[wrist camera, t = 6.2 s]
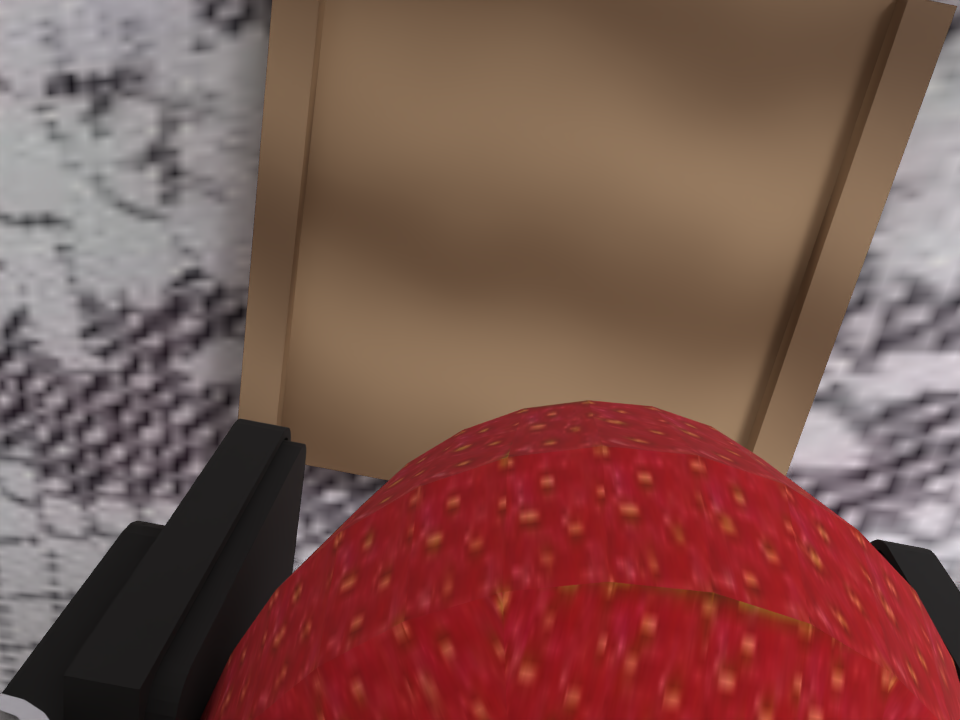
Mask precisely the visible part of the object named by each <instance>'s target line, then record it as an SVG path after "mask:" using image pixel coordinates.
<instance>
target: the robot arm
mask: <svg viewBox="0 0 960 720" xmlns="http://www.w3.org/2000/svg"><path fill="white" fill-rule="evenodd" d="M305 461H306V444H303V443H297V442H292V441H291V431H290V428H288V427H283V426H278V425H273V424H267V423H262V422H257V421H251V420H246V419H238V420H237V421H236V422H235V424H234V425H233V426H232V428H231V429H230V431H229V432H228V434H227V435H226V437H225V438H224V440H223V441H222V443H221V444H220V446H219V447H218V449H217V450H216V451H215V453H214V454H213V456H212V457H211V459H210V460H209V462H208V463H207V465H206V466H205V468H204V469H203V471H202V472H201V474H200V475H199V476H198V478H197V479H196V481H195V482H194V484H193V485H192V487H191V488H190V490H189V491H188V493H187V494H186V496H185V497H184V499H183V500H182V501H181V503H180V504H179V506H178V507H177V509H176V510H175V512H174V513H173V515H172V516H171V518H170V519H169V521H168V522H167V524H166V525H165V526H163V525H158V524H153V523H148V522H142V521H135V522H132V523H130V524H129V525H128V526H127V528H126V529H125V530H124V531H123V532H122V533H121V534H120V536H119V537H118V538H117V540H116V541H115V542H114V544H113V545H112V546H111V548H110V549H109V551H108V552H107V553H106V555H105V556H104V557H103V559H102V560H101V561H100V563H99V564H98V565H97V567H96V568H95V569H94V571H93V572H92V573H91V575H90V576H89V577H88V579H87V580H86V581H85V583H84V584H83V585H82V587H81V588H80V589H79V591H78V592H77V593H76V595H75V596H74V597H73V599H72V600H71V601H70V603H69V604H68V605H67V607H66V608H65V609H64V611H63V612H62V613H61V615H60V616H59V617H58V619H57V620H56V621H55V623H54V624H53V625H52V627H51V628H50V629H49V631H48V632H47V633H46V635H45V636H44V637H43V639H42V640H41V641H40V643H39V644H38V645H37V647H36V648H35V649H34V651H33V652H32V653H31V655H30V656H29V657H28V659H27V660H26V661H25V663H24V664H23V666H22V667H21V668H20V670H19V671H18V672H17V674H16V675H15V676H14V678H13V679H12V680H11V682H10V683H9V684H8V686H7V687H6V688H5V690H4V691H3V692H2V693H0V720H200V718H201V716H202V714H203V711H204V709H205V707H206V705H207V703H208V701H209V699H210V697H211V695H212V693H213V691H214V689H215V687H216V684H217V682H218V680H219V678H220V676H221V674H222V672H223V670H224V668H225V666H226V664H227V662H228V659H229V657H230V655H231V653H232V652H233V650H234V649H235V647H236V646H237V645H238V643H239V642H240V640H241V639H242V637H243V636H244V635H245V633H246V632H247V630H248V629H249V627H250V626H251V625H252V623H253V622H254V620H255V619H256V618H257V616H258V615H259V613H260V612H261V610H262V609H263V608H264V606H265V605H266V603H267V602H268V600H269V599H270V598H271V596H272V595H273V593H274V592H275V590H276V589H277V588H278V587H279V586H280V585H281V584H282V583H283V582H284V581H285V580H286V579H287V578H288V577H289V576H290V575H291V574H292V571H293V563H294V554H295V546H296V537H297V529H298V520H299V512H300V504H301V495H302V487H303V478H304V470H305ZM871 544H872V545H873V546H874V547H875V549H876V550H877V551H878V552H879V553H880V554H881V555H882V556H883V557H884V558H885V559H886V560H887V561H888V562H889V563H890V564H891V565H892V566H893V568H894V569H895V570H896V571H897V572H898V573H899V574H900V575H901V576H902V577H903V578H904V579H905V580H906V581H907V582H908V583H909V584H910V586H911V587H912V588H913V589H914V590H915V591H916V592H917V594H918V596H919V598H920V600H921V602H922V603H923V605H924V607H925V609H926V611H927V613H928V615H929V616H930V618H931V620H932V622H933V624H934V626H935V627H936V629H937V631H938V633H939V635H940V637H941V639H942V640H943V642H944V644H945V646H946V648H947V650H948V651H949V653H950V655H951V657H952V659H953V661H954V665H955V668H956V672H957V675H958V679H959V682H960V591H959V590H958V588H957V587H956V585H955V584H954V582H953V581H952V579H951V578H950V576H949V575H948V573H947V572H946V570H945V569H944V567H943V566H942V564H941V563H940V561H939V560H938V558H937V557H936V555H935V554H934V553H933V552H932V551H931V550H928V549H925V548H920V547H914V546H909V545H904V544H899V543H893V542H888V541H883V540H878V539H877V540H875V541H872V542H871Z"/></svg>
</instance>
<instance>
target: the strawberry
mask: <svg viewBox="0 0 960 720" xmlns="http://www.w3.org/2000/svg"><path fill="white" fill-rule="evenodd" d="M200 720H960V682H959V679H958V675H957V672H956V668H955V665H954V661H953V659H952V657H951V655H950V653H949V651H948V650H947V648H946V646H945V644H944V642H943V640H942V639H941V637H940V635H939V633H938V631H937V629H936V627H935V626H934V624H933V622H932V620H931V618H930V616H929V615H928V613H927V611H926V609H925V607H924V605H923V603H922V602H921V600H920V598H919V596H918V594H917V592H916V591H915V590H914V589H913V588H912V587H911V586H910V584H909V583H908V582H907V581H906V580H905V579H904V578H903V577H902V576H901V575H900V574H899V573H898V572H897V571H896V570H895V569H894V568H893V566H892V565H891V564H890V563H889V562H888V561H887V560H886V559H885V558H884V557H883V556H882V555H881V554H880V553H879V552H878V551H877V550H876V549H875V547H874V546H873V545H872V544H871V543H870V542H869V541H868V540H867V539H866V538H865V537H864V536H863V535H862V534H861V533H860V532H859V531H858V530H857V529H856V528H854V527H853V526H852V525H850V524H849V523H848V522H846V521H845V520H844V519H842V518H841V517H840V516H838V515H837V514H836V513H834V512H833V511H832V510H830V509H829V508H827V507H826V506H825V505H823V504H822V503H821V502H819V501H818V500H817V499H815V498H814V497H813V496H811V495H810V494H809V493H807V492H806V491H805V490H803V489H802V488H801V487H799V486H798V485H797V484H795V483H794V482H793V481H791V480H790V479H789V478H787V477H786V476H785V475H783V474H782V473H781V472H779V471H778V470H777V469H775V468H774V467H773V466H771V465H770V464H769V463H767V462H766V461H765V460H763V459H762V458H760V457H759V456H757V455H756V454H754V453H752V452H751V451H749V450H748V449H746V448H745V447H743V446H741V445H740V444H738V443H737V442H735V441H734V440H732V439H730V438H729V437H727V436H726V435H724V434H723V433H721V432H719V431H718V430H716V429H715V428H713V427H712V426H709V425H706V424H703V423H700V422H697V421H694V420H691V419H688V418H685V417H682V416H679V415H676V414H673V413H671V412H668V411H665V410H662V409H659V408H656V407H653V406H644V405H634V404H623V403H613V402H602V401H592V400H586V401H578V402H570V403H562V404H554V405H546V406H539V407H531V408H523V409H521V410H518V411H515V412H512V413H509V414H506V415H504V416H501V417H498V418H495V419H492V420H489V421H487V422H484V423H481V424H478V425H475V426H472V427H470V428H467V429H464V430H462V431H460V432H458V433H457V434H455V435H453V436H452V437H450V438H448V439H447V440H445V441H443V442H442V443H440V444H439V445H437V446H435V447H434V448H432V449H430V450H429V451H427V452H425V453H424V454H422V455H420V456H419V457H417V458H415V459H414V460H412V461H410V462H409V463H407V464H406V465H405V466H404V467H403V468H402V469H401V470H400V471H399V472H398V473H397V474H395V475H394V476H393V477H392V478H391V479H390V480H389V481H388V482H387V483H386V484H385V485H383V486H382V487H381V488H380V489H379V490H378V491H377V492H376V493H375V494H374V495H373V496H371V497H370V498H369V499H368V500H367V501H366V502H365V503H364V504H363V505H362V506H361V507H360V508H359V509H358V510H357V511H356V512H355V513H354V514H353V515H352V516H351V517H350V518H349V519H347V520H346V521H345V522H344V523H343V524H342V525H341V526H340V527H339V528H338V529H337V530H336V531H335V532H334V533H333V534H332V535H331V536H330V537H329V538H328V539H327V540H326V541H325V542H324V543H323V544H322V545H321V546H320V547H319V548H318V549H317V550H316V551H315V552H314V553H313V554H312V555H311V556H310V557H309V558H308V559H307V560H306V561H305V562H304V563H303V564H302V565H301V566H300V567H299V568H298V569H297V570H296V571H295V572H294V573H293V574H291V575H290V576H289V577H288V578H287V579H286V580H285V581H284V582H283V583H282V584H281V585H280V586H279V587H278V588H277V589H276V590H275V592H274V593H273V595H272V596H271V598H270V599H269V600H268V602H267V603H266V605H265V606H264V608H263V609H262V610H261V612H260V613H259V615H258V616H257V618H256V619H255V620H254V622H253V623H252V625H251V626H250V627H249V629H248V630H247V632H246V633H245V635H244V636H243V637H242V639H241V640H240V642H239V643H238V645H237V646H236V647H235V649H234V650H233V652H232V653H231V655H230V657H229V659H228V662H227V664H226V666H225V668H224V670H223V672H222V674H221V676H220V678H219V680H218V682H217V684H216V687H215V689H214V691H213V693H212V695H211V697H210V699H209V701H208V703H207V705H206V707H205V709H204V711H203V714H202V716H201V718H200Z"/></svg>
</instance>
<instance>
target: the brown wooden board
mask: <svg viewBox="0 0 960 720" xmlns="http://www.w3.org/2000/svg"><path fill="white" fill-rule="evenodd" d="M956 8H957V6H954V5H949V4H944V3H939V2H934V1H929V0H272V10H271V22H270V35H269V47H268V59H267V71H266V83H265V95H264V108H263V120H262V132H261V144H260V156H259V169H258V181H257V193H256V205H255V217H254V229H253V242H252V254H251V266H250V278H249V290H248V302H247V315H246V327H245V339H244V351H243V363H242V376H241V388H240V400H239V412H238V419H246V420H251V421H257V422H262V423H267V424H273V425H278V426H283V427H288V428H290V431H291V441H292V442H297V443H303V444H306V461H305V465H310V466H315V467H320V468H326V469H331V470H336V471H342V472H347V473H352V474H357V475H363V476H368V477H373V478H378V479H384V480H390V479H391V478H392V477H393V476H394V475H395V474H397V473H398V472H399V471H400V470H401V469H402V468H403V467H404V466H405V465H406V464H407V463H409V462H410V461H412V460H414V459H415V458H417V457H419V456H420V455H422V454H424V453H425V452H427V451H429V450H430V449H432V448H434V447H435V446H437V445H439V444H440V443H442V442H443V441H445V440H447V439H448V438H450V437H452V436H453V435H455V434H457V433H458V432H460V431H462V430H464V429H467V428H470V427H472V426H475V425H478V424H481V423H484V422H487V421H489V420H492V419H495V418H498V417H501V416H504V415H506V414H509V413H512V412H515V411H518V410H521V409H523V408H531V407H539V406H546V405H554V404H562V403H570V402H578V401H586V400H592V401H602V402H613V403H623V404H634V405H644V406H653V407H656V408H659V409H662V410H665V411H668V412H671V413H673V414H676V415H679V416H682V417H685V418H688V419H691V420H694V421H697V422H700V423H703V424H706V425H709V426H712V427H713V428H715V429H716V430H718V431H719V432H721V433H723V434H724V435H726V436H727V437H729V438H730V439H732V440H734V441H735V442H737V443H738V444H740V445H741V446H743V447H745V448H746V449H748V450H749V451H751V452H752V453H754V454H756V455H757V456H759V457H760V458H762V459H763V460H765V461H766V462H767V463H769V464H770V465H771V466H773V467H774V468H775V469H777V470H778V471H779V472H781V473H782V474H783V475H785V476H786V474H787V471H788V469H789V466H790V463H791V460H792V458H793V455H794V452H795V449H796V447H797V444H798V441H799V438H800V436H801V433H802V430H803V427H804V425H805V422H806V419H807V416H808V414H809V411H810V408H811V406H812V403H813V400H814V397H815V395H816V392H817V389H818V386H819V384H820V381H821V378H822V375H823V373H824V370H825V367H826V364H827V362H828V359H829V356H830V353H831V351H832V348H833V345H834V342H835V340H836V337H837V334H838V331H839V329H840V326H841V323H842V320H843V318H844V315H845V312H846V310H847V307H848V304H849V301H850V299H851V296H852V293H853V290H854V288H855V285H856V282H857V279H858V277H859V274H860V271H861V268H862V266H863V263H864V260H865V257H866V255H867V252H868V249H869V246H870V244H871V241H872V238H873V235H874V233H875V230H876V227H877V224H878V222H879V219H880V216H881V214H882V211H883V208H884V205H885V203H886V200H887V197H888V194H889V192H890V189H891V186H892V183H893V181H894V178H895V175H896V172H897V170H898V167H899V164H900V161H901V159H902V156H903V153H904V150H905V148H906V145H907V142H908V139H909V137H910V134H911V131H912V128H913V126H914V123H915V120H916V118H917V115H918V112H919V109H920V107H921V104H922V101H923V98H924V96H925V93H926V90H927V87H928V85H929V82H930V79H931V76H932V74H933V71H934V68H935V65H936V63H937V60H938V57H939V54H940V52H941V49H942V46H943V43H944V41H945V38H946V35H947V32H948V30H949V27H950V24H951V21H952V19H953V16H954V13H955V11H956Z"/></svg>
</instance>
